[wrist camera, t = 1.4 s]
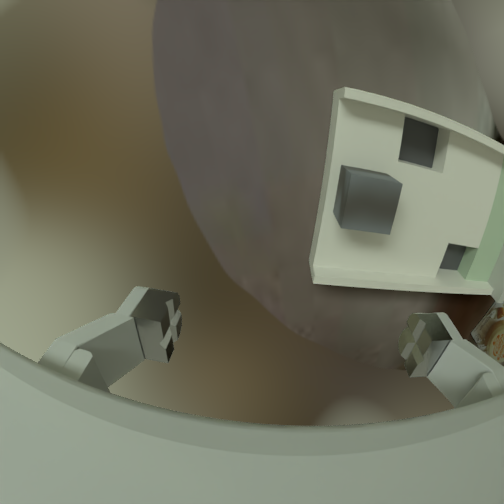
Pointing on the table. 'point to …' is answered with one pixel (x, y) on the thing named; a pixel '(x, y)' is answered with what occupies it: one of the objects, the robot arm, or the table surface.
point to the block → (366, 200)
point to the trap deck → (413, 201)
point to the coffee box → (491, 333)
